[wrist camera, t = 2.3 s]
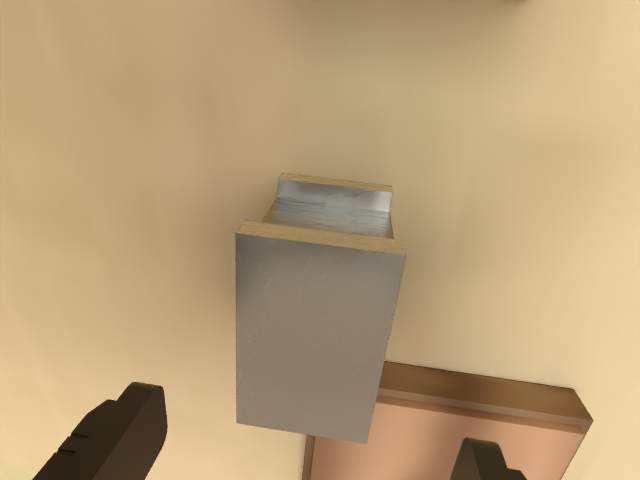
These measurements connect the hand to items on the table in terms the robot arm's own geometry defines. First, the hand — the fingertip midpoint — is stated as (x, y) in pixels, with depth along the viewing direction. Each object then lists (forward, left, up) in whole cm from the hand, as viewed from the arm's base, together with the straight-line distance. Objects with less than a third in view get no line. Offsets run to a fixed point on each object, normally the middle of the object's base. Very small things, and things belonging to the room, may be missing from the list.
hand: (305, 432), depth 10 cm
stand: (+7, -12, -10) cm, 17 cm away
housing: (0, 0, -10) cm, 10 cm away
